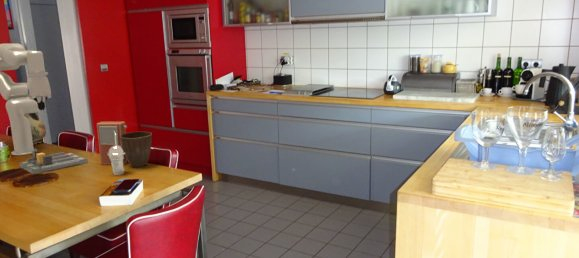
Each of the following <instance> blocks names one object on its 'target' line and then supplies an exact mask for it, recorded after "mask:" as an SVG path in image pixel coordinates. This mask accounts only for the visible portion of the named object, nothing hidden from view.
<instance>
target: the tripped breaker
mask: <svg viewBox="0 0 579 258" xmlns="http://www.w3.org/2000/svg"><path fill="white" fill-rule="evenodd" d="M42 156H46V153H45V152H41V153H38V154H36V157H37V161H36V162H35V164H36V163H41V162H43V157H42Z"/></svg>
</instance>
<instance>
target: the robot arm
mask: <svg viewBox="0 0 579 258" xmlns="http://www.w3.org/2000/svg"><path fill="white" fill-rule="evenodd" d="M21 66H27V71H28V72H27V73H28V78H27V80H26V82H14V81H13V79H12V77H11V76H10V75H9V74H7V73H5V72H4V71H11V70H12V71H13V70H17V69H19V68H20V67H21ZM47 75H49V72H48V71H46V69H45V61H44V54H43V52H42V51H41V50H32V49H30V50H26V48H25V47H24V45H22V44H20V43H17V42H16V43H13V42H12V43H0V95H1V96H2V98H3V99H4V100H5V101H6V103H5V109H6V110H5V111H6V112H7V115H8V119H9V123H10V130H11V137H12V138H11V139H12V142H13V143H12V144H13V149H14V150H13V151H11V152H10V153H11V155H13V156H25V155H26V156H27V155H31V154H32V155H33V153H32V151H37V150H38V149H37V148H35V147H34V144H33V140H32V133H31V126H30V121H29V120H28V119H27V118H26V117H25V116H24V114H30V113H39V112H41V111H45V109H46V105H45V104H46V101H47V100H48V99H51V98H52V92H51V90H52V89H51V84H50V82H49V79H48V76H47Z"/></svg>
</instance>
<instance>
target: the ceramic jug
mask: <svg viewBox="0 0 579 258" xmlns="http://www.w3.org/2000/svg"><path fill="white" fill-rule="evenodd" d="M36 113H37V112H36ZM36 113H30V114H24V116H25V117H26V118H27V119H28V120H29V121H30V126H31V133H32V140H33V145H38V144H37V143H40V144H41V143H43V139H44V138H45V137H46V135H47V129H46V125H45V123H44V122H43V120H42V119H41V118H40V117H39V115H37V114H36Z"/></svg>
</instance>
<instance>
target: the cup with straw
mask: <svg viewBox="0 0 579 258" xmlns="http://www.w3.org/2000/svg"><path fill="white" fill-rule="evenodd" d="M114 135H115V145H114V146H112V147H111V148H110V149H109V152H108V153H107V155H108V156H109V158H110V160H111V164H110V165H111V169H112V172H113V175H114V176H116V175H117V176H119V175H123V174H124V172H125V171H124V170H125V164H124V158H125V154H126V151H125V150H124V149H123V147H122V146H120V145H117V140H116V133H115V131H114Z"/></svg>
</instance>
